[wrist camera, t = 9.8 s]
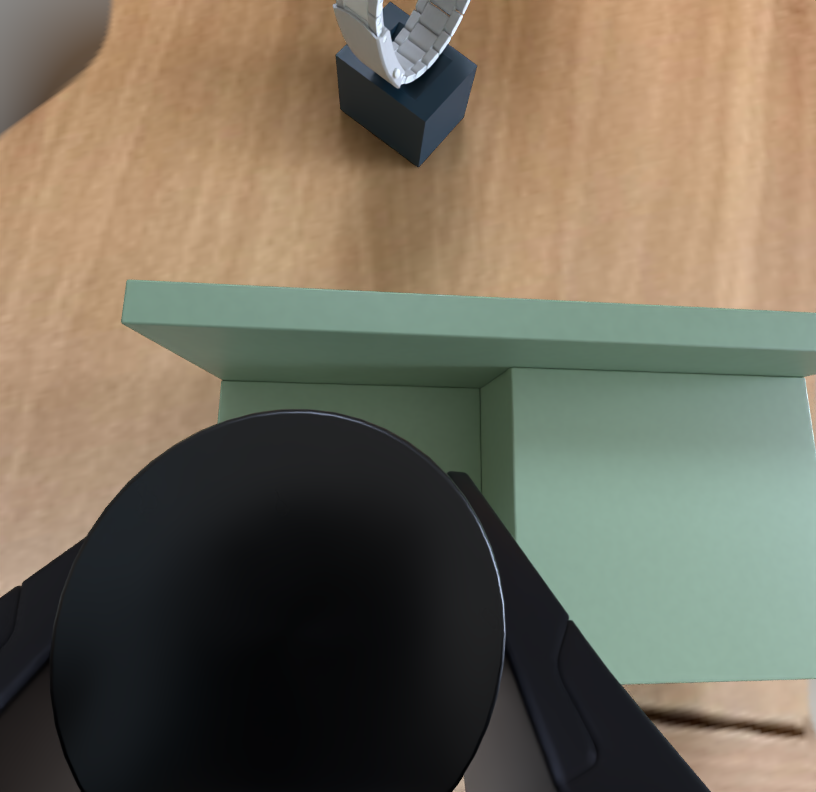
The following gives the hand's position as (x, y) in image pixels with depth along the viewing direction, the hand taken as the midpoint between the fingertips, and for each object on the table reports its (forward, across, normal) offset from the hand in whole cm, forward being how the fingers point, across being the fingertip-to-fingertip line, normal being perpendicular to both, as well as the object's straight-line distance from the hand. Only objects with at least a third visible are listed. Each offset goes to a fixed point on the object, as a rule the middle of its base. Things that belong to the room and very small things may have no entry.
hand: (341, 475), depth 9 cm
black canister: (+2, 0, +4) cm, 4 cm away
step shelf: (+8, -5, +9) cm, 13 cm away
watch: (+22, 0, -6) cm, 23 cm away
